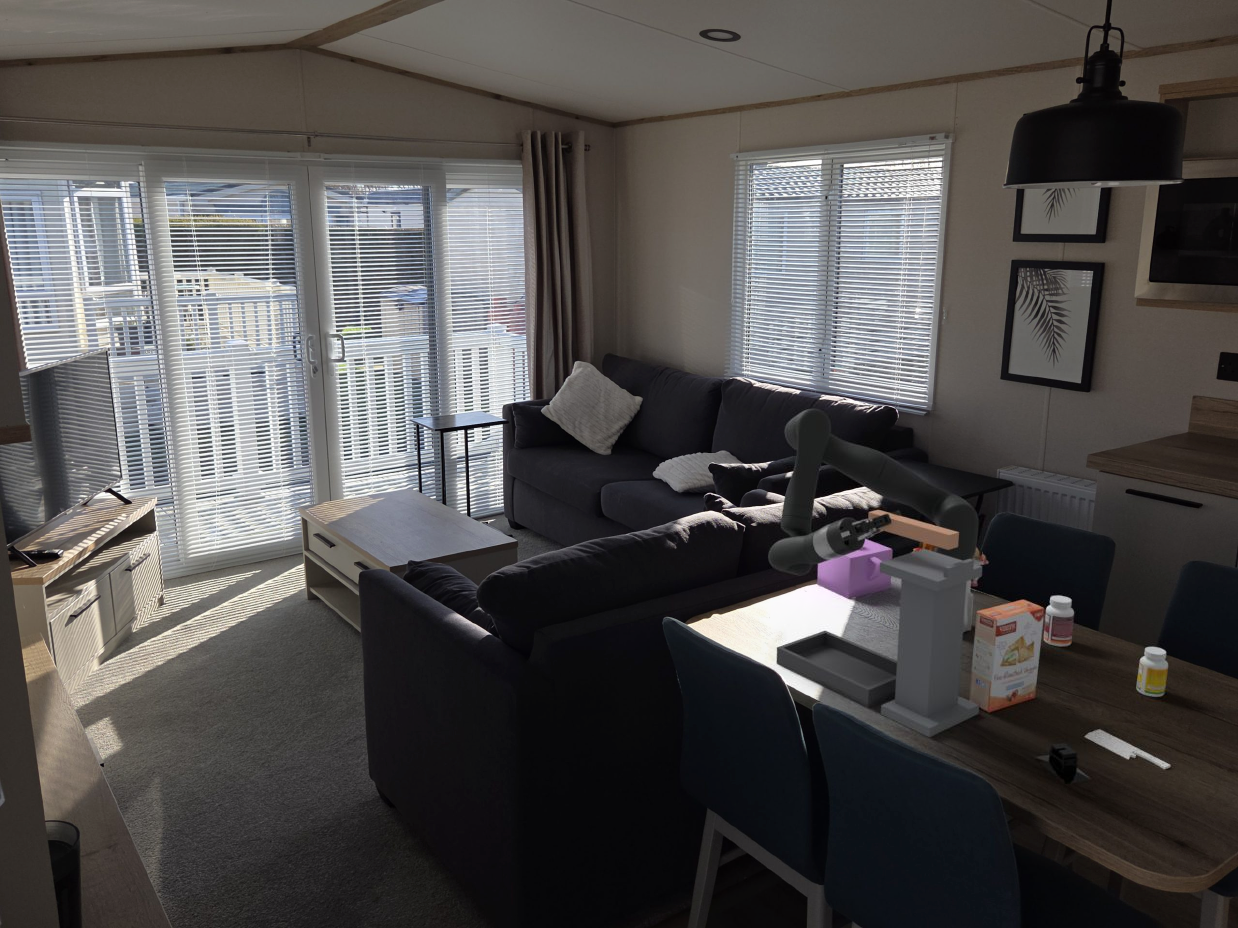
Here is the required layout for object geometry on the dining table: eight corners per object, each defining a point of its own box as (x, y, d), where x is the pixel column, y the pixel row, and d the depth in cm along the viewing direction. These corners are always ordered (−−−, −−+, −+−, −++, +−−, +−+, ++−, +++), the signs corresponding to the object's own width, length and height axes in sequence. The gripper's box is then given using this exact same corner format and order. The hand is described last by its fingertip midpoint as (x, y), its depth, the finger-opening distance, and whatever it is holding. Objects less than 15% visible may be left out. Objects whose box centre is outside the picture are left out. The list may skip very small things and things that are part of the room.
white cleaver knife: (1152, 775, 180) (1152, 770, 179) (1082, 739, 193) (1082, 734, 192) (1170, 768, 182) (1170, 763, 181) (1099, 732, 195) (1100, 727, 195)
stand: (869, 708, 205) (877, 554, 197) (918, 687, 214) (927, 538, 206) (929, 737, 193) (939, 574, 185) (978, 713, 202) (990, 557, 194)
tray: (776, 663, 227) (776, 647, 226) (824, 645, 236) (825, 630, 235) (867, 707, 206) (868, 689, 205) (916, 686, 215) (917, 669, 214)
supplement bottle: (1130, 689, 212) (1135, 648, 210) (1147, 684, 214) (1152, 643, 212) (1153, 699, 207) (1158, 657, 205) (1170, 694, 209) (1175, 652, 207)
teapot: (841, 568, 290) (843, 522, 286) (903, 594, 268) (906, 545, 265) (801, 577, 283) (802, 530, 279) (860, 605, 261) (863, 555, 258)
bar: (868, 525, 207) (868, 512, 206) (877, 523, 208) (878, 509, 208) (948, 549, 191) (949, 535, 190) (957, 546, 192) (959, 532, 192)
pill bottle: (1076, 643, 235) (1081, 600, 233) (1061, 649, 232) (1065, 605, 229) (1053, 634, 240) (1057, 592, 238) (1037, 640, 237) (1041, 597, 235)
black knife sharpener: (1024, 756, 187) (1026, 734, 186) (1058, 752, 189) (1060, 729, 188) (1067, 791, 175) (1069, 768, 174) (1102, 786, 177) (1105, 762, 176)
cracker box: (990, 714, 202) (997, 619, 197) (967, 702, 207) (974, 609, 202) (1037, 699, 208) (1046, 606, 203) (1014, 687, 213) (1022, 597, 208)
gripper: (810, 529, 213) (865, 505, 199) (854, 517, 221) (910, 493, 207) (822, 561, 211) (878, 540, 198) (865, 548, 219) (923, 527, 205)
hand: (894, 516), depth 202 cm, fingers closed on bar, 3 cm apart
